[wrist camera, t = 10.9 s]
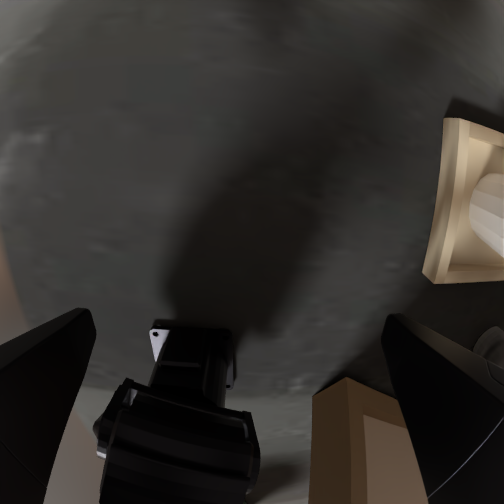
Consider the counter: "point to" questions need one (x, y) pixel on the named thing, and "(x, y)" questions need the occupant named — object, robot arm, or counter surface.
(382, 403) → the photo frame
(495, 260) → the birch tray
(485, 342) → the beverage cup
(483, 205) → the white tapered cup
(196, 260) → the counter surface
